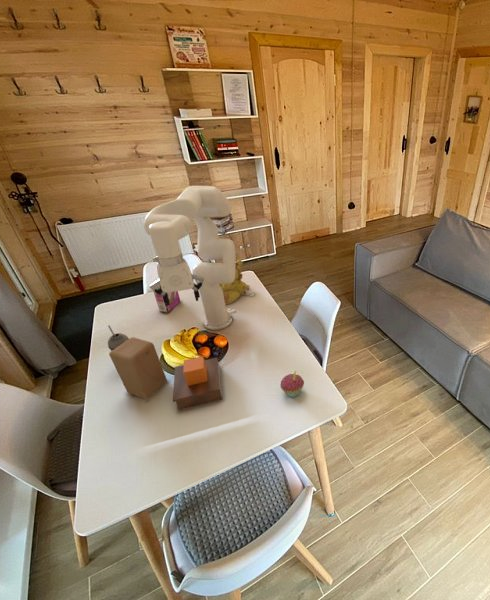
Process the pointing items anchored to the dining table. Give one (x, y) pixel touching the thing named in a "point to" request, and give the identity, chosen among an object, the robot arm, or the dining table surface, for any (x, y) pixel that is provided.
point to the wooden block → (138, 367)
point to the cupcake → (292, 384)
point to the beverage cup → (116, 340)
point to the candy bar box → (172, 297)
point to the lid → (185, 391)
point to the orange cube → (195, 371)
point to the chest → (201, 398)
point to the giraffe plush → (235, 286)
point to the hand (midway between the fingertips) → (183, 301)
